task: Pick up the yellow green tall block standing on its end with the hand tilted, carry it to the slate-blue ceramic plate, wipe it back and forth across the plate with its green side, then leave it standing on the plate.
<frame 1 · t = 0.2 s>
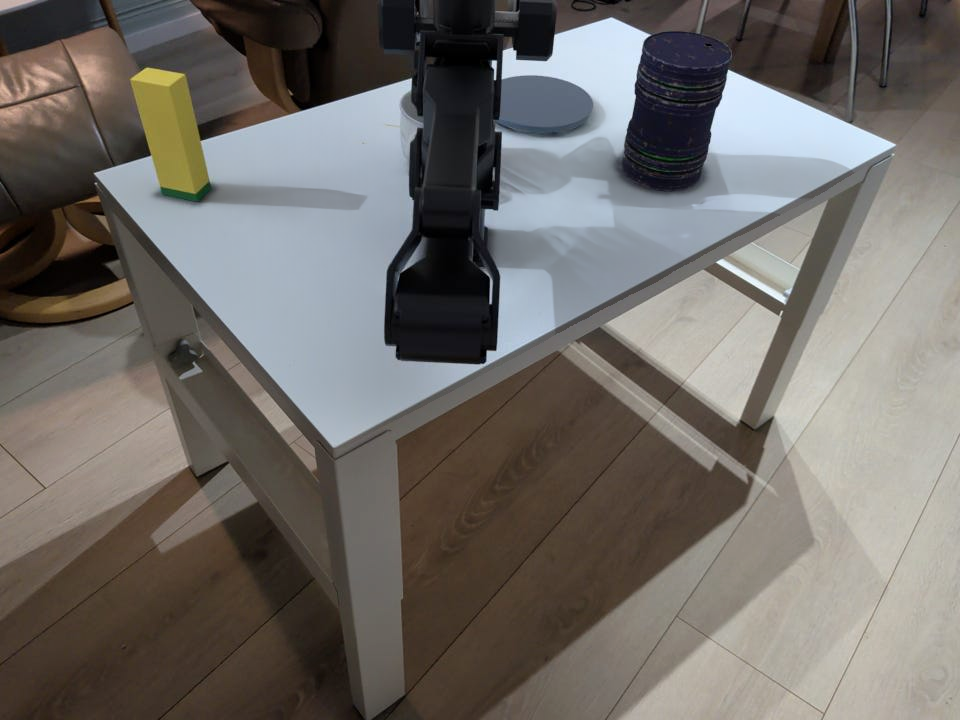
dark purple barrel: (660, 170, 98), on the table
teacup: (438, 172, 96), on the table
plate: (536, 109, 108), on the table
yellow green tall block: (187, 191, 90), on the table
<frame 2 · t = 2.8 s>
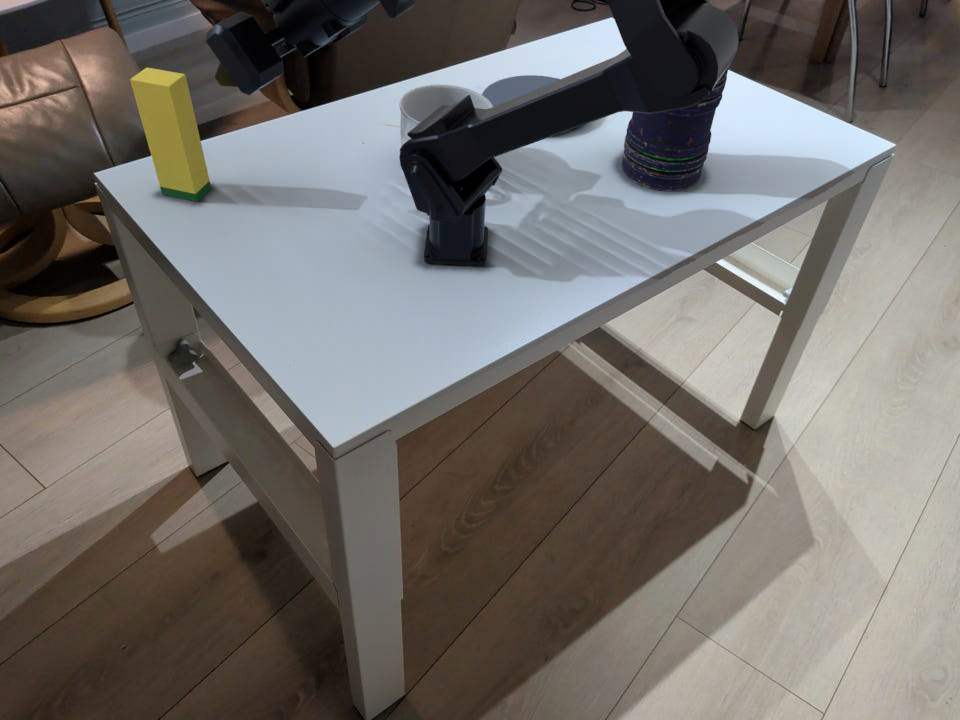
hand: (248, 63, 82), 14 cm above the table, tool tilted 50°, fingers open, 9 cm apart
nothing on the table moved.
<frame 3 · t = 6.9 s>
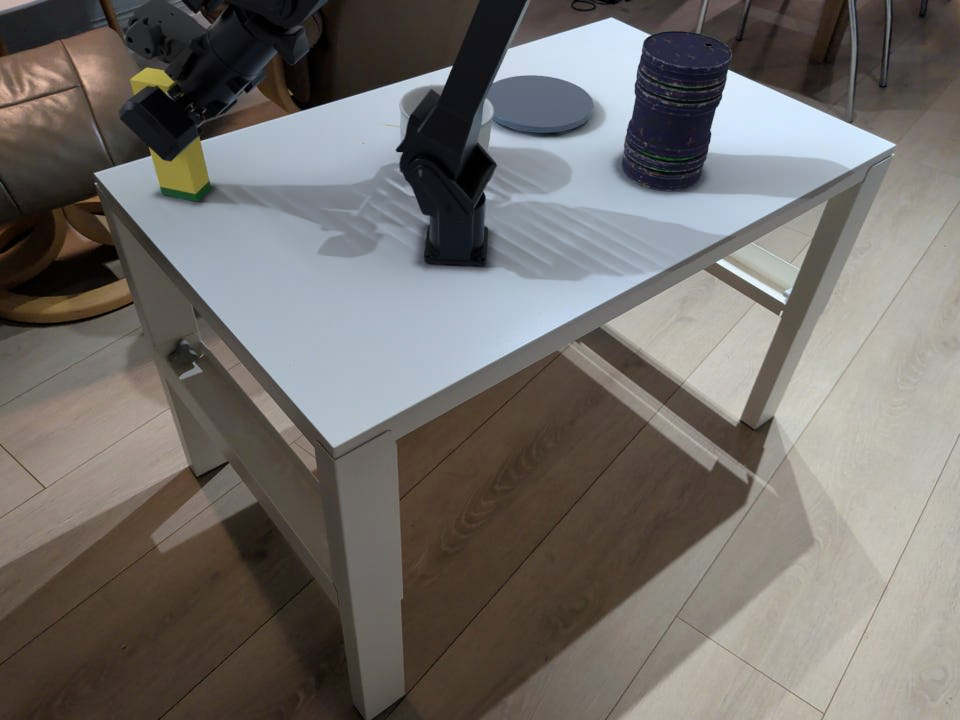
hand: (161, 134, 86), 7 cm above the table, tool tilted 45°, fingers closed on yellow green tall block, 3 cm apart
yellow green tall block: (186, 191, 90), on the table, touching gripper
everything else where it was.
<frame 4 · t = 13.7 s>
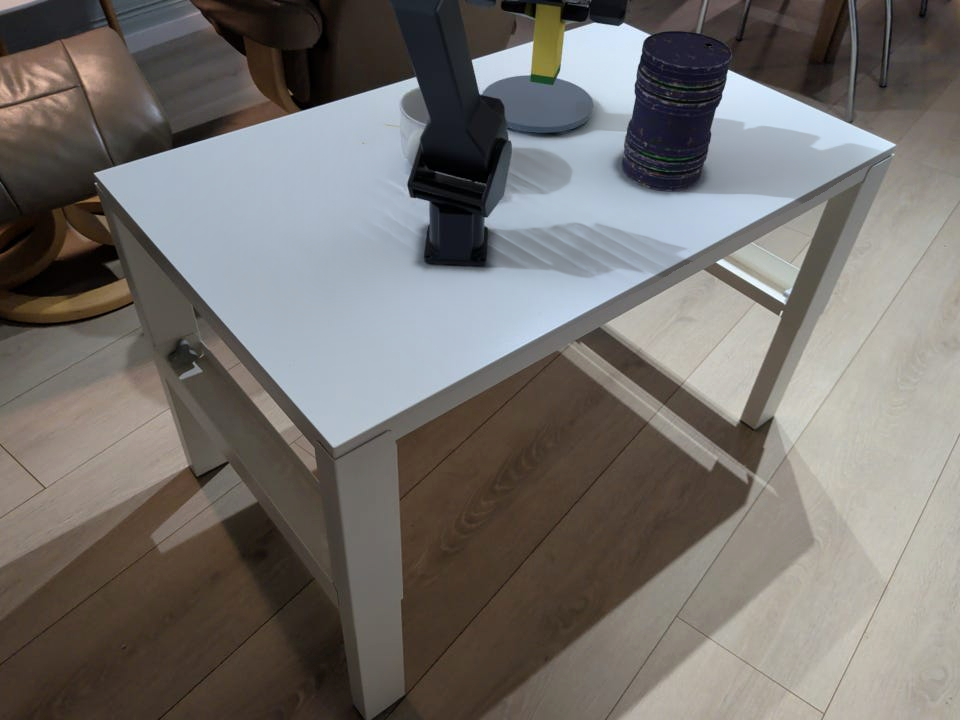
hand: (552, 18, 98), 13 cm above the table, tool tilted 45°, fingers closed on yellow green tall block, 3 cm apart
yellow green tall block: (545, 76, 102), point 6 cm above the table, touching gripper
everything else where it was.
when the fingers open (8 cm above the table, at t = 20.4 s): yellow green tall block stays where it is, resting on plate.
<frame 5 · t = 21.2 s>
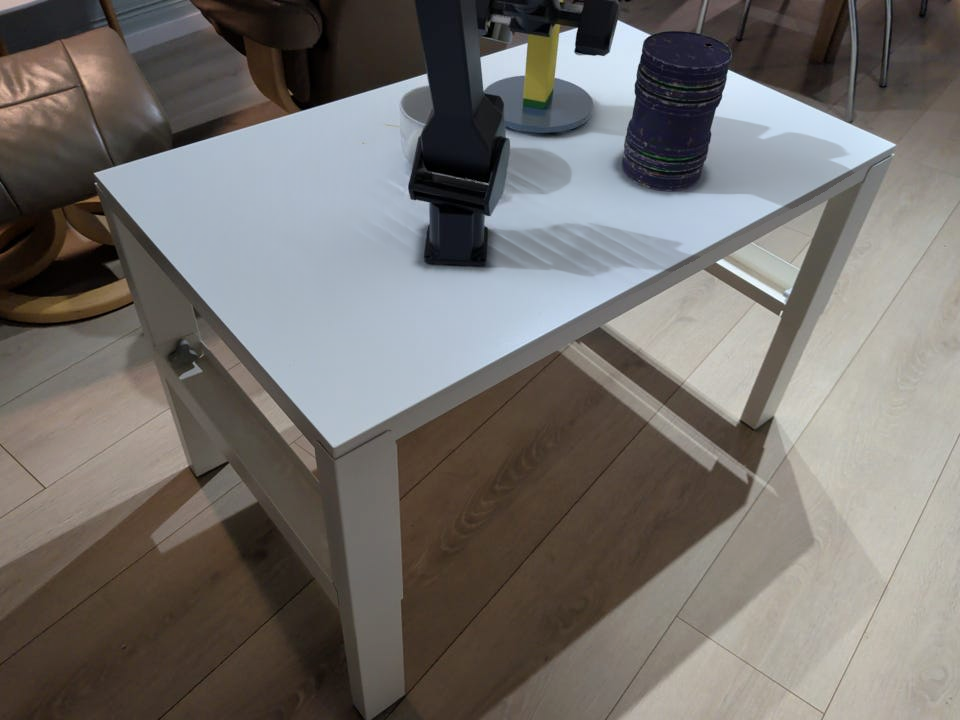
hand: (544, 45, 102), 8 cm above the table, tool tilted 45°, fingers open, 9 cm apart
plate: (536, 109, 108), on the table, touching yellow green tall block
yellow green tall block: (537, 100, 106), point 1 cm above the table, touching plate
everything else where it was.
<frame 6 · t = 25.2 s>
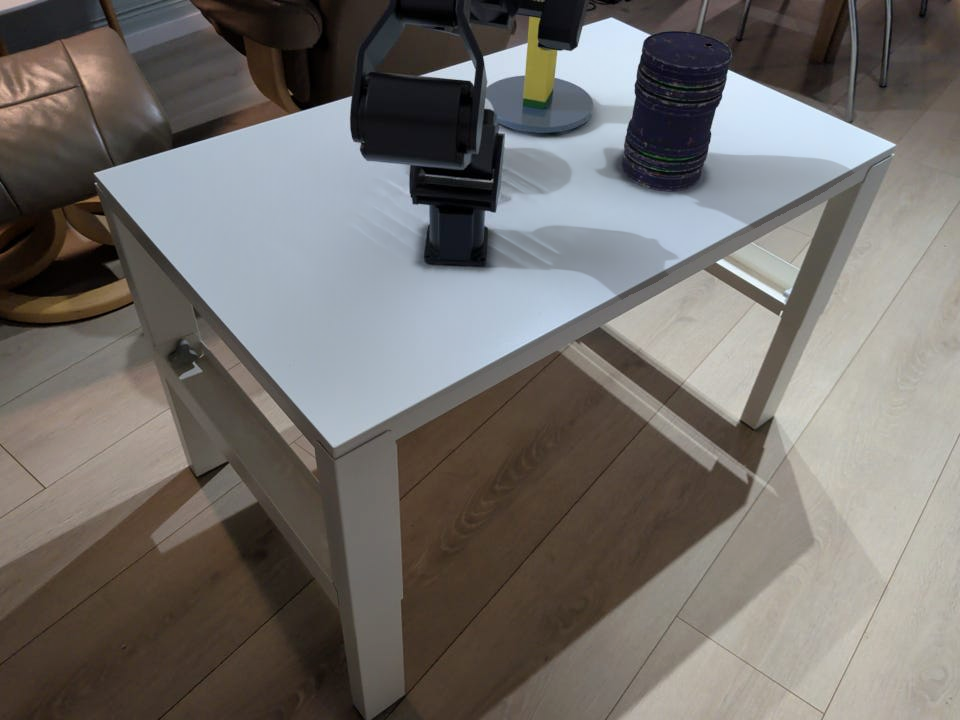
hand: (507, 39, 90), 14 cm above the table, tool tilted 45°, fingers open, 9 cm apart
nothing on the table moved.
at the end: yellow green tall block inside the target area on the plate (0.2 cm from its centre), point 1.4 cm above the plate's base; yellow green tall block touching plate; plate moved 0.0 cm from its start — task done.
